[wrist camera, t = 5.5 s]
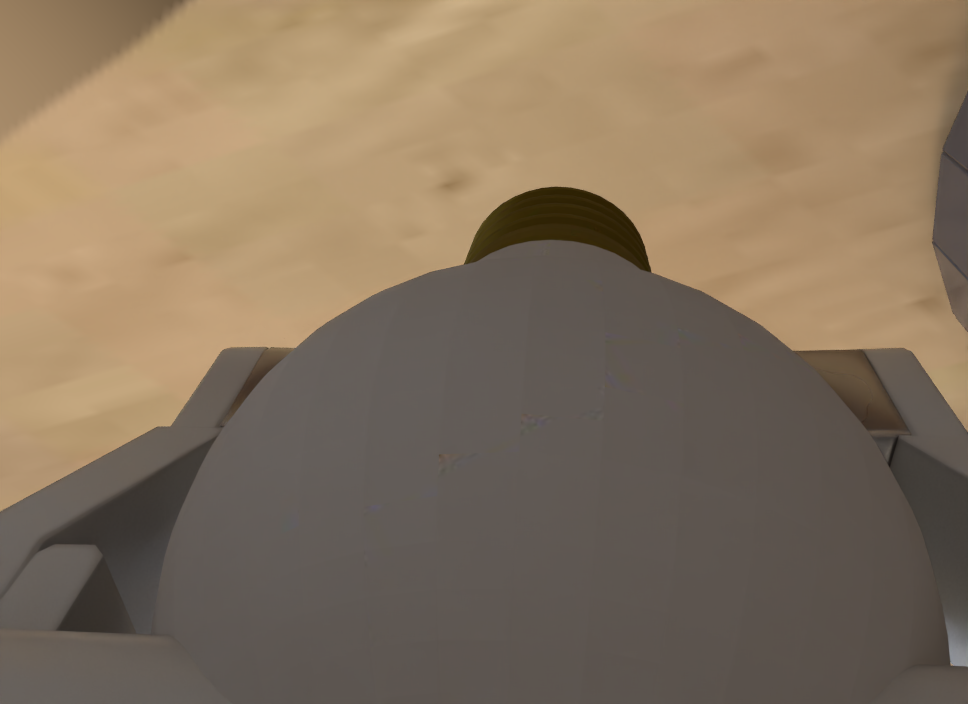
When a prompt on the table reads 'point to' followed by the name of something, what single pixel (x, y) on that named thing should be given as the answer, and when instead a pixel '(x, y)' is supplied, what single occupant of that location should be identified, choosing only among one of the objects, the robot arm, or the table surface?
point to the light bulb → (548, 499)
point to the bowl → (954, 216)
